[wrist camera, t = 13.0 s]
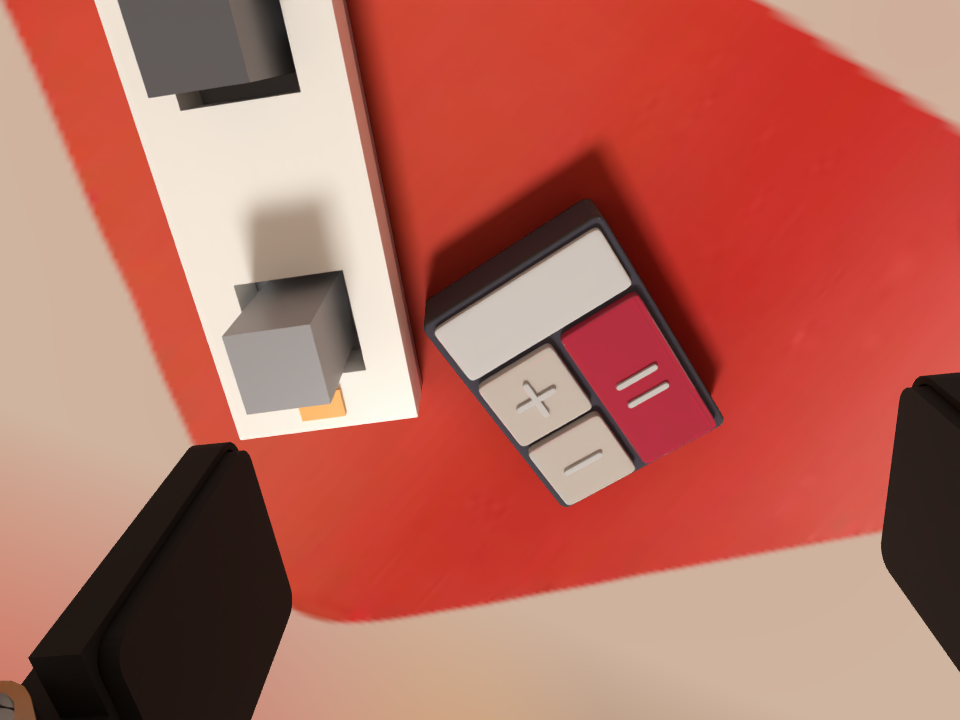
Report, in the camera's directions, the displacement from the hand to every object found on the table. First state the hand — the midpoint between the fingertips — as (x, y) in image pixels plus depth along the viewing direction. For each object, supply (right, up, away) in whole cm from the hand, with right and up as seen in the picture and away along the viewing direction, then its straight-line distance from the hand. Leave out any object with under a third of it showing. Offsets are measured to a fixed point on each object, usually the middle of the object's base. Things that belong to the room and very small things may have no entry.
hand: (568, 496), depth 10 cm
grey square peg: (-11, +5, +29) cm, 31 cm away
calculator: (+4, +3, +32) cm, 33 cm away
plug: (-12, +17, +23) cm, 32 cm away
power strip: (-12, +12, +27) cm, 32 cm away
